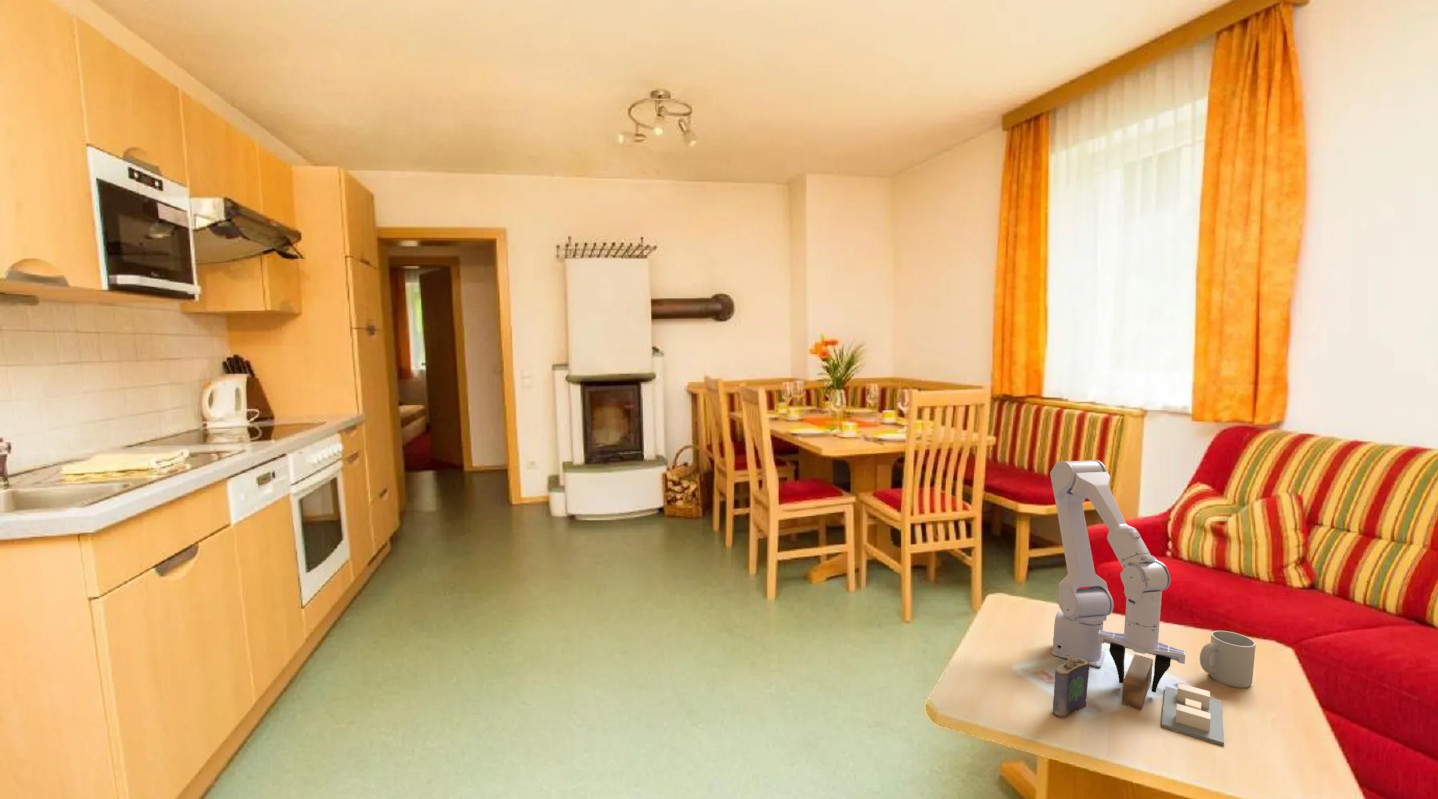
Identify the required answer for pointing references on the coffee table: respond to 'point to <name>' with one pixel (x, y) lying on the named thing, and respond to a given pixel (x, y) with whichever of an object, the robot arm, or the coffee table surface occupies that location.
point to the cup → (1229, 658)
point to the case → (1137, 682)
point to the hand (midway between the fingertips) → (1137, 685)
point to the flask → (1070, 686)
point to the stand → (1193, 713)
